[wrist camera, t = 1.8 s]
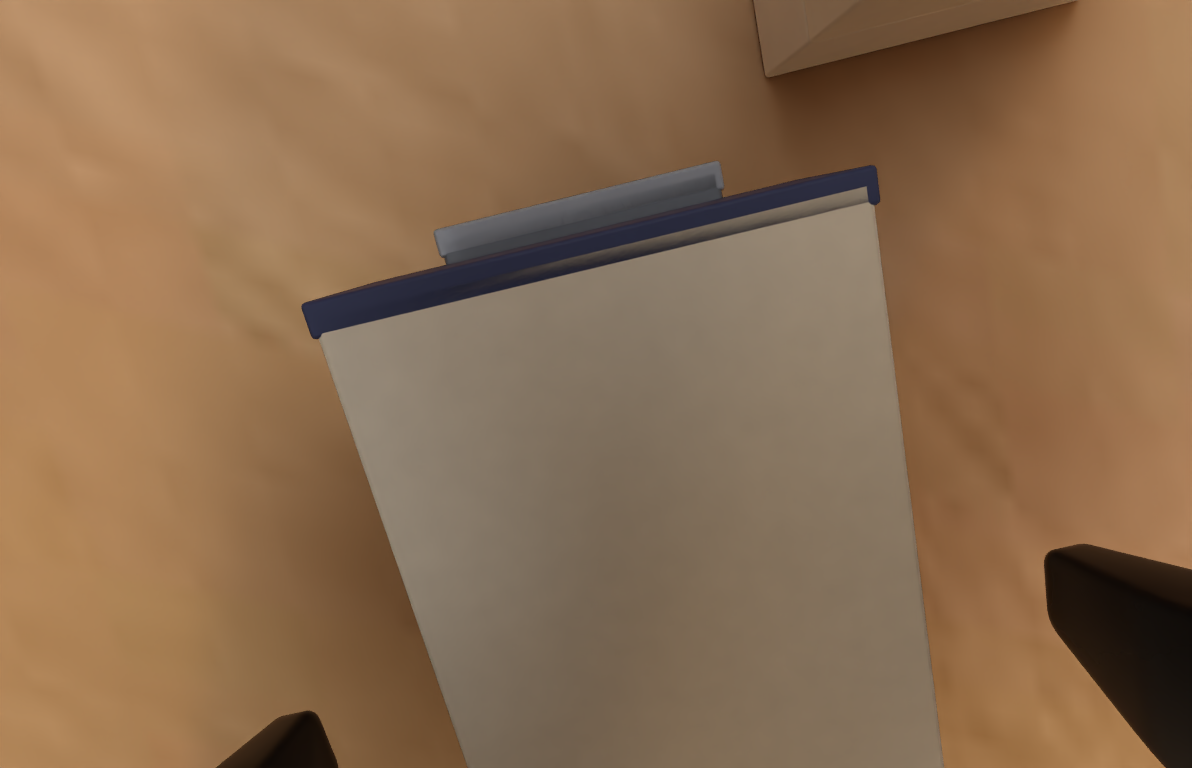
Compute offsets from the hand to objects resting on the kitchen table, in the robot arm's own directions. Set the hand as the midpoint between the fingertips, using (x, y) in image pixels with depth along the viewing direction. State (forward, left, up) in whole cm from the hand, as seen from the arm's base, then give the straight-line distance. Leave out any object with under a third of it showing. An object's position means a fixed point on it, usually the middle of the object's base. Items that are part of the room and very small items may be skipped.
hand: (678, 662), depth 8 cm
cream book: (0, 0, -2) cm, 3 cm away
